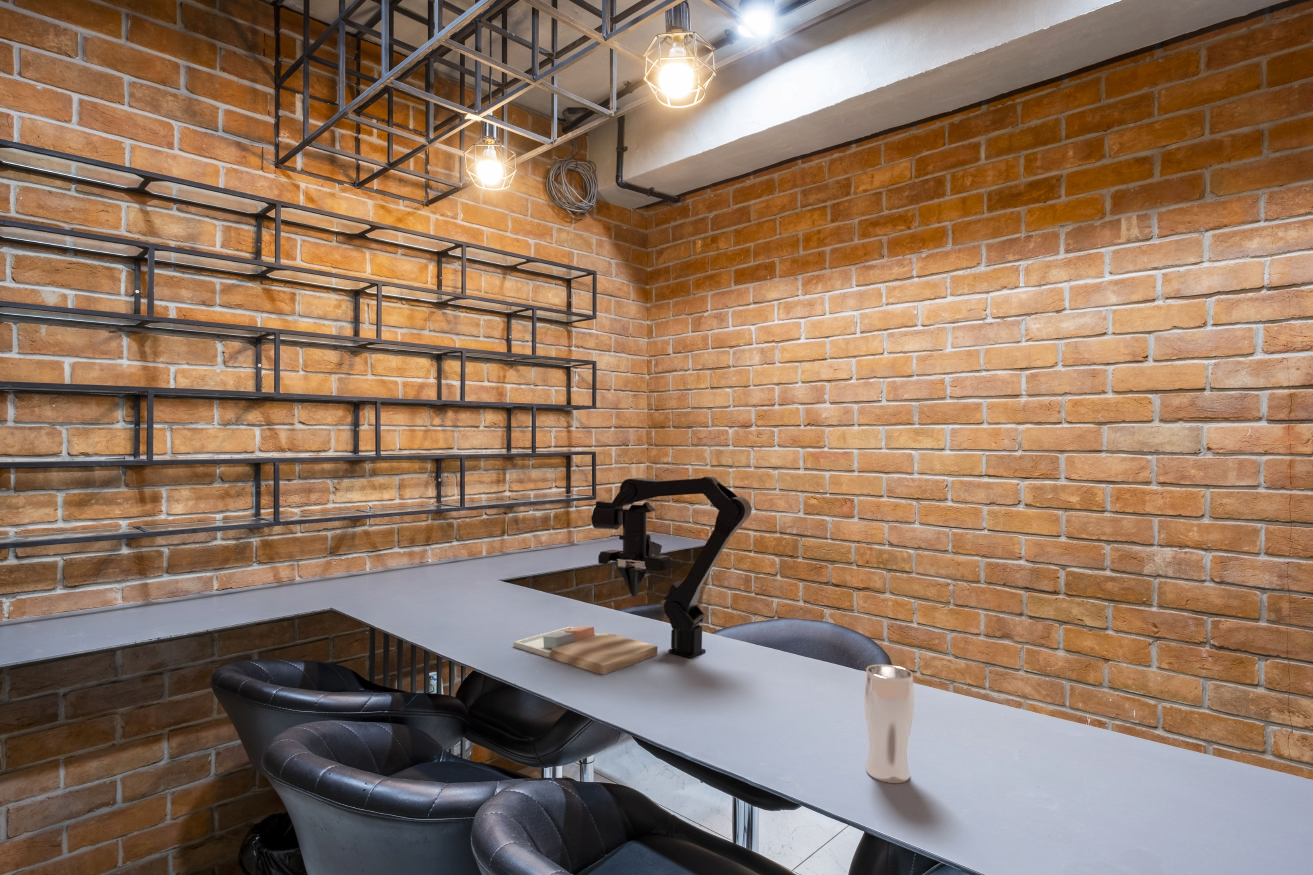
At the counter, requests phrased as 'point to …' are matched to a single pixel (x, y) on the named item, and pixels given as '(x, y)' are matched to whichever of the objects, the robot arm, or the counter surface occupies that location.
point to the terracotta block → (581, 633)
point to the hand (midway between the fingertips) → (634, 595)
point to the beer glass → (888, 721)
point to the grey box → (558, 640)
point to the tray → (538, 643)
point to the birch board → (603, 653)
